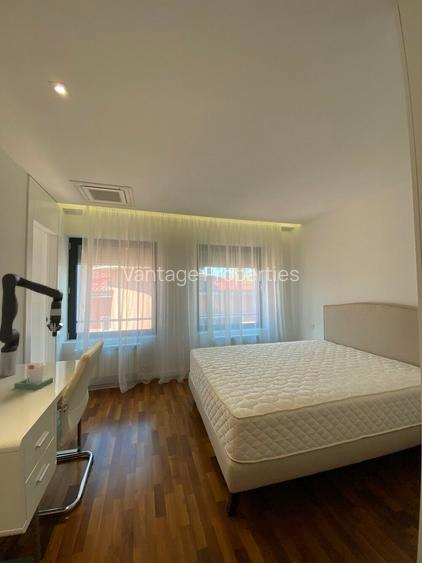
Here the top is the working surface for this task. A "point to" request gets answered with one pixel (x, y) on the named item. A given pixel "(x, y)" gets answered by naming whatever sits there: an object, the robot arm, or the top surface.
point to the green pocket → (26, 385)
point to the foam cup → (36, 373)
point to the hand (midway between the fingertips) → (54, 336)
